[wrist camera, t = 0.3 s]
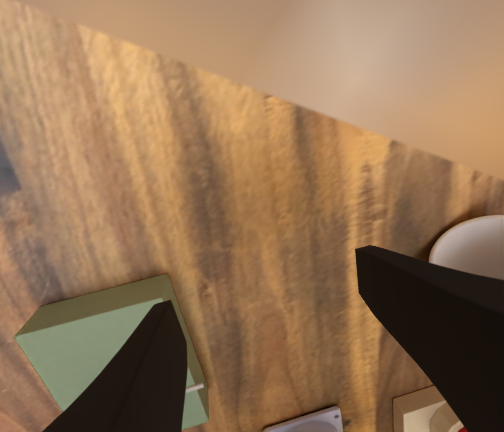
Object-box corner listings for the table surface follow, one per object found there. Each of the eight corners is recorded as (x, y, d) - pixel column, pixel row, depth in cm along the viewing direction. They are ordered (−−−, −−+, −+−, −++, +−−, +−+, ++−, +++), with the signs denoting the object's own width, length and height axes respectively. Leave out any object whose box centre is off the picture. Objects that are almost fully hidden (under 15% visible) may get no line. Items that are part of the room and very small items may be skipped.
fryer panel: (215, 386, 25) (217, 422, 22) (105, 419, 24) (91, 461, 21) (175, 270, 20) (171, 296, 17) (40, 305, 20) (11, 338, 17)
